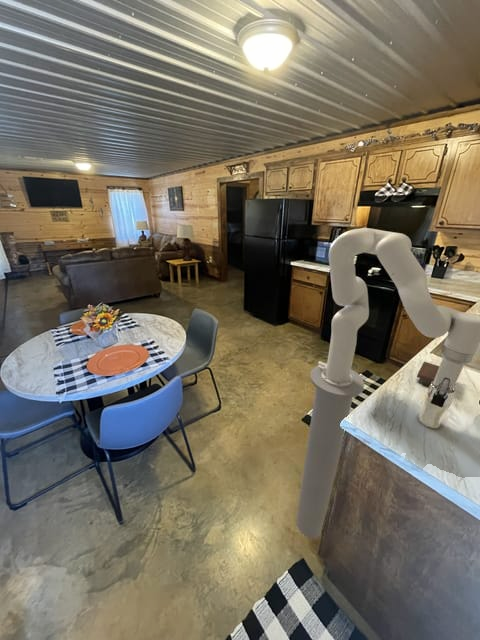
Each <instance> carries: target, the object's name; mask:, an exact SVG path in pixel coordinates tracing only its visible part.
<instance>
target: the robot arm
mask: <svg viewBox="0 0 480 640" xmlns="http://www.w3.org/2000/svg"><path fill="white" fill-rule="evenodd" d="M411 240H412V239H410V237H409V236H407V235H406V234H404V233H400V232H393V231H386V230H381V229H375V228H369V227H362V228H354V229H351V230H350V229H349V230H348V231H345V232H343V233H341V234H340V235H338V236H337V237H336V238H335V239H334V240H333V241H332V243H331V245H330V247H329V250H328V265H329V272H330V283H331V293H332V299H333V301H334V302H335V304H336V305H338V306H341V307H343V308H342V309H339V310H338V311H337V312H336V313H335V314H334V315H333V316H332V319H331V335H330V343H329V347H328V348H329V349H328V356H327V362H323V361H321V360H319V361H318V362H317V366H318V365H319V366H318V368H319V369H322V370H323V371H322V374H321V376H322V379H323V380H324V381H325V382H326V383H328V384H330V385H332V386H336V387H347V386H350V385H351V384H352V382H353V378H352V376H351V375H350V372H351V370H352V366H353V363H354V357H355V352H356V347H357V343H358V342H357V339H358V331H359V329H360V328H361V327H362V326H363V325H364V324H365V323H366V322H367V321H368V319H369V315H370V306H369V293H368V286H367V284H366V282H365V281H364V280H363V279H362V278H361V277H359V276H357V275H356V266H355V265H356V264H355V262H354V257H356V256H357V255H360V254H363V253H365V254H369V255H370V254H371V255H375V256H376V257H377V259H378V260H379V263H380V264H381V265H382V266H383V268H384V270H385V271H386V273H387V274H388V276H389V277H390V279H391V280H392V282H393V283H394V285H395V288H396V289H397V293H398V295H399V298H400V300H401V303H402V306H403V308H404V310H405V312H406V315H407V316H408V317H409V319H410V320H411V322H412V324H413V325H414V326H415V328H416V329H417V331H418V332H419V333H420V334H422V335H423V336H425V337H427V338H430V339H437V338H441V337H443V336H444V335H446V334H447V335H446V338H445V340H444V343H443V346H442V348H441V351H440V356H442V359H441V361H440V364H439V365H438V366H439V369H438V371H437V374H436V377H435V379H434V382H433V384H434V385H436V386H438V388H437V390H436V393H434V395H433V398H432V400H431V403H432V404H434V405H436V406H439V407H443V405H444V403H445V400H446V398H447V397H446V396H447V393H448V390H449V391H451V390H452V389H453V387H454V388H455V385H456V383H457V381H458V379H459V377H460V375H461V373H462V371H463V369H464V366H465V365H468V364H471V363H472V361H473V359H474V357H475V355H476V352H477V350H478V348H479V345H480V315H479V314H476V313H472V312H463V311H460V310H457V309H454V308H451V307H448V306H447V305H446V306H445V305H440V304H436V303H435V302H434V300H433V298H432V296H431V293H430V290H429V283H428V276H427V273H426V271H425V270H424V268H423V266H422V265H421V264H420V262H419V261H418V259H417V257H416V256H415V255H414V253H413V252H412V250H411V249H412V247H413V246H412V241H411ZM440 384H442V386H440ZM447 386H448V388H447ZM439 388H441V389H440V390H439ZM445 391H446V392H445Z"/></svg>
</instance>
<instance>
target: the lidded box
mask: <svg viewBox="0 0 480 640" xmlns="http://www.w3.org/2000/svg"><path fill="white" fill-rule="evenodd" d="M439 366H440V365H437V364H434V363H430V362H427V361H423V363H422V365H421V366H420V369H419V370H418V373H417V375H416V377H417V378H418V381H417V383H418V384H421V385H424V386H426V387H429V386H430V385H431V382H432V381H434V379H435V377H436V374H437V371H438V369H439Z"/></svg>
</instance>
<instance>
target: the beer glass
mask: <svg viewBox="0 0 480 640" xmlns="http://www.w3.org/2000/svg"><path fill="white" fill-rule="evenodd" d="M433 382H434V381H432V382H431V385H430V386H428V388H427V391H426V393H425V398H424V405H423V410H422V412H421V413H420V414H419V416H418V420H419V421H420V423H421V424H423V425H424V426H426V427H428V428H431V429H438V428H440V427H441V421H442V417H444V415H445V413H447V411H448V410H449V409H450V407H451V405H452V404H453V401H454V397H455V395H456V392H457V391H456V388H455V386H454V387H453V389H452V390H451V391H449V390H448V393H447V396H446V397H447V398H446V400H445V403H444V405H443V407H439V406H436V405H434V404H432V403H431V400H432V398H433V395H434V393H436V390H437V388H438V386H436V385H434V384H433ZM440 386H442V384H440ZM447 388H448V386H447ZM440 389H441V388H439V390H440ZM445 392H446V391H445Z"/></svg>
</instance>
